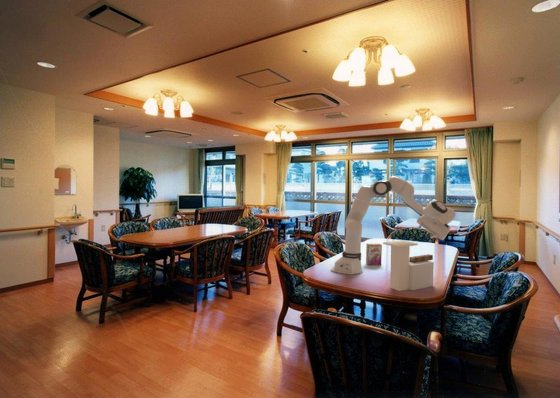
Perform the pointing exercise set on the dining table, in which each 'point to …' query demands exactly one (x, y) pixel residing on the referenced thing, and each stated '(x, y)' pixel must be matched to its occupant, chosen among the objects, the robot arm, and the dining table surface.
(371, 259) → the candy bar box
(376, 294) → the dining table surface
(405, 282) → the stepped stand
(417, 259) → the walnut bar
